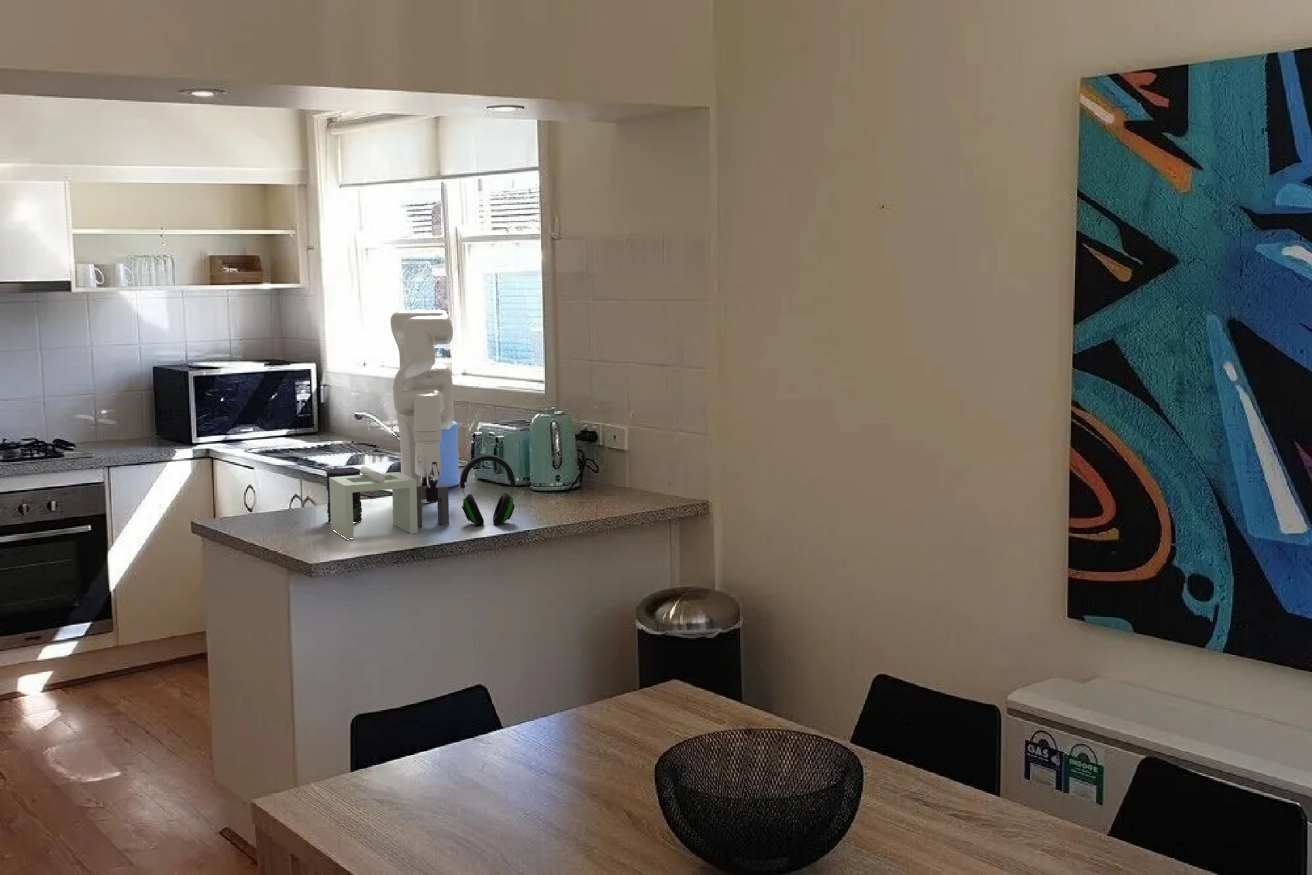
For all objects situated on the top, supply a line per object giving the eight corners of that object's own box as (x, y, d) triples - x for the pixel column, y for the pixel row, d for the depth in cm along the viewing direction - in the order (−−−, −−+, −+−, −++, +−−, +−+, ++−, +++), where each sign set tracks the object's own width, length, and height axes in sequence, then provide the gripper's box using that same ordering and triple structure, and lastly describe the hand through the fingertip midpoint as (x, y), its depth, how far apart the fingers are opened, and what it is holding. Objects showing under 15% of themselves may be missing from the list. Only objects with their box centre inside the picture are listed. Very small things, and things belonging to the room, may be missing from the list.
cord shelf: (331, 530, 394) (328, 468, 391) (400, 523, 403) (398, 463, 400) (346, 540, 380) (344, 476, 377) (417, 533, 389) (416, 471, 386)
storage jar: (324, 519, 409) (323, 469, 407) (358, 517, 413) (356, 466, 411) (331, 525, 400) (329, 474, 398) (365, 523, 404) (363, 471, 402)
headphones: (517, 526, 399) (516, 456, 396) (462, 528, 395) (460, 458, 393) (513, 520, 408) (512, 452, 405) (459, 522, 405) (458, 453, 402)
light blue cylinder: (468, 483, 471) (467, 401, 468) (437, 490, 458) (435, 405, 454) (433, 479, 480) (431, 398, 476) (402, 486, 466) (399, 402, 463)
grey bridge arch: (411, 525, 400) (410, 487, 399) (444, 522, 405) (443, 484, 403) (415, 527, 397) (414, 489, 395) (449, 524, 401) (448, 486, 400)
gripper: (406, 434, 403) (407, 496, 405) (424, 441, 388) (426, 506, 391) (431, 432, 406) (432, 494, 409) (450, 439, 392) (451, 503, 394)
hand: (429, 499), depth 400 cm, fingers closed on grey bridge arch, 4 cm apart
